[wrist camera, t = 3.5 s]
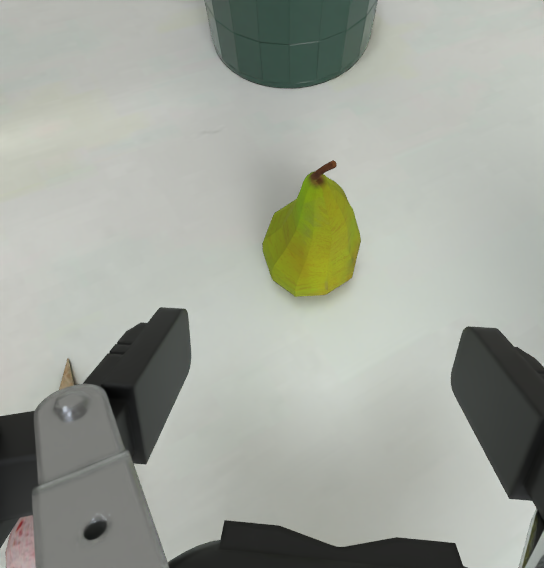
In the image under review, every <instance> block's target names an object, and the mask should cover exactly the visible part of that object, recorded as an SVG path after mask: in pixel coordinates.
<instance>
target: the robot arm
mask: <svg viewBox="0 0 544 568" xmlns="http://www.w3.org/2000/svg"><path fill="white" fill-rule="evenodd" d="M190 364H191V345H190V333H189V321H188V313H187V310H186V309H179V308H162V307H161V308H159V309H158V310H157V312H156V313H155V314H154V315H153V317H152V318H151V319H150V321H149V322H148V323H140V324H138V325H136V326H135V327H133V328H131V329H130V330H128V331H126V333H125V334H124V335H123V336H122V337H121V338H120V340H119V341H118V342H117V344H115V346H114V347H113V348H112V349H111V350H110V353H109V354H107V355H106V356H105V358H104V359H103V360H102V361H101V362H100V363H99V365H98V366H97V367H96V368H95V369H94V371H93V372H92V373H91V374H90V375H89V377H88V378H87V379H86V380H85V381H84V383H83V384H78V385H73V386H69V387H66V388H63V389H61V390H58V391H56V392H54V393H53V394H51V395H49V396H48V397H47V398H45V399H44V400H43V401H42V402H41V403H40V404H39V405H38V407H37V408H36V410H35V411H31V412H25V413H18V414H12V415H6V416H0V548H1V546H2V545H3V543H4V541H5V540H6V538H7V537H8V535H9V534H10V532H11V531H12V529H13V528H14V526H15V525H16V523H17V522H18V520H19V518H21V517H26V516H31V515H33V527H34V546H35V565H36V568H467V567H465V566H463V564H462V561H461V558H460V556H459V553H458V550H457V547H456V544H455V543H448V542H438V541H428V540H418V539H408V538H398V537H396V538H391V539H385V540H380V541H374V542H369V543H363V544H358V545H352V546H347V547H336V546H332V545H330V544H327V543H324V542H321V541H319V540H316V539H313V538H311V537H308V536H305V535H303V534H300V533H297V532H295V531H292V530H289V529H287V528H284V527H281V526H277V525H267V524H256V523H246V522H236V521H226V520H225V521H224V526H223V531H222V536H221V540H217V541H212V542H208V543H205V544H202V545H199V546H197V547H194V548H192V549H190V550H188V551H186V552H184V553H182V554H180V555H179V556H177V557H175V558H174V559H172V560H171V561H169V562H167V560H166V557H165V554H164V551H163V548H162V545H161V542H160V539H159V536H158V533H157V530H156V528H155V525H154V522H153V519H152V516H151V513H150V510H149V507H148V504H147V501H146V499H145V496H144V493H143V490H142V487H141V484H140V481H139V478H138V475H137V472H136V470H135V467H134V464H133V463H136V464H147V461H148V459H149V457H150V455H151V453H152V451H153V448H154V446H155V444H156V442H157V440H158V438H159V436H160V433H161V431H162V429H163V427H164V425H165V423H166V420H167V418H168V416H169V414H170V412H171V410H172V407H173V405H174V403H175V401H176V399H177V397H178V394H179V392H180V390H181V388H182V386H183V384H184V381H185V379H186V377H187V375H188V372H189V369H190ZM451 386H452V390H453V393H454V395H455V397H456V399H457V401H458V403H459V405H460V407H461V409H462V410H463V412H464V414H465V416H466V418H467V420H468V422H469V424H470V426H471V427H472V429H473V431H474V433H475V435H476V437H477V439H478V441H479V443H480V444H481V446H482V448H483V450H484V452H485V454H486V456H487V458H488V460H489V461H490V463H491V465H492V467H493V469H494V471H495V473H496V475H497V476H498V478H499V480H500V482H501V484H502V486H503V488H504V490H505V492H506V493H507V495H508V497H509V499H519V500H530V501H533V503H534V504H535V506H536V510H535V512H534V515H533V517H532V519H531V523H530V527H529V530H528V534H527V538H526V541H525V545H524V549H523V552H522V556H521V560H520V564H519V567H518V568H544V367H543V366H542V365H541V364H540V363H539V362H538V361H537V360H536V359H535V358H534V357H532V356H530V355H529V354H527V353H526V352H524V351H522V350H521V349H519V348H518V347H514V346H513V345H512V344H511V343H510V342H509V341H508V340H507V338H506V337H505V336H504V335H503V334H502V333H501V332H500V331H499V330H498V329H496V328H484V327H466V328H465V329H464V330H463V332H462V335H461V339H460V342H459V346H458V350H457V353H456V357H455V361H454V364H453V368H452V372H451Z"/></svg>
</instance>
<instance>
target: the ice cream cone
mask: <svg viewBox="0 0 544 568" xmlns="http://www.w3.org/2000/svg"><path fill="white" fill-rule="evenodd" d="M73 385H74V382H73V378H72V373H71V369H70V364H69V360H68V359H67V363H66V366H65V370H64V373H63V377H62V381H61V384H60V388H59V390H61V389H63V388H66V387H69V386H73ZM5 554H6V568H36V565H35V546H34V527H33V515H31V516H26V517H21V518H19V520H18V522H17V523H16V525H15V526H14V528H13V530H12V532H11V533H10V536H9V540H8V544H7V548H6V552H5Z"/></svg>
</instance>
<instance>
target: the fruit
mask: <svg viewBox="0 0 544 568" xmlns="http://www.w3.org/2000/svg"><path fill="white" fill-rule="evenodd" d="M335 167H336V162H335V161H331V162H329V163H327V164H325V165H324V166H322V167H321V168H319V169H318V170H316V171H315V172H311V173H310V174H309V175H307V177H306V178H305V180H304V181H303V184H302V187H301V190H300V192H299V195H298V197H297V199H296V200H294V201H293V202H291V203H290V204H288V205H286V206H285V207H283V208H282V209H280V210H279V211H277V212H275V213H274V215H273V217H272V220H271V223H270V225H269V228H268V231H267V233H266V236H265V238H264V241H263V244H262V245H263V253H264V256H265V259H266V262H267V265H268V268H269V271H270V274H271V277H272V279H273V280H274V281H275V282H276V283H278V284H279V285H280V286H282V287H283V288H284V289H286V290H287V291H288V292H290V293H291V294H293V295H294V296H295V297H297V296H315V295H326V294H328V293H329V292H331V291H332V290H334V289H335V288H337V287H339V286H340V285H342V284H343V283H345V282H346V281H348V280H349V279H350V278H352V275H353V271H354V267H355V263H356V258H357V254H358V250H359V246H360V242H361V239H360V233H359V229H358V226H357V222H356V219H355V215H354V212H353V209H352V207H351V206H350V204H349V202H348V200H347V197H346V195H345V193H344V191H343V190H342V188H341V187H340V186H339V185H338V184H337V183H336V182H334V181H333V180H331V179H329V178H327V177H326V176H325V175H323V173H325V172H326V171H329V170H331V169H333V168H335Z"/></svg>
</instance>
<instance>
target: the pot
mask: <svg viewBox="0 0 544 568" xmlns="http://www.w3.org/2000/svg"><path fill="white" fill-rule="evenodd" d="M377 1H378V0H205V5H206V10H207V15H208V20H209V25H210V29H211V34H212V39H213V43H214V46H215V49H216V51H217V53H218V55H219V57H220V58H221V60H222V61H223V62H224V64H225V65H226V66H227V67H228V68H229V69H231V70H232V71H233V72H234V73H236V74H237V75H239V76H241V77H242V78H245V79H247V80H249V81H251V82H254V83H257V84H260V85H265V86H269V87H277V88H299V87H307V86H312V85H316V84H320V83H323V82H326V81H328V80H331V79H333V78H335V77H337V76H339V75H341V74H342V73H344V72H345V71H347V70H348V69H350V68H351V67H352V66H353V65H354V64H355V63H356V62H357V61H358V60H359V58H360V57H361V56H362V55H363V53H364V51H365V49H366V47H367V45H368V42H369V39H370V35H371V30H372V25H373V21H374V16H375V11H376V6H377Z"/></svg>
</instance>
